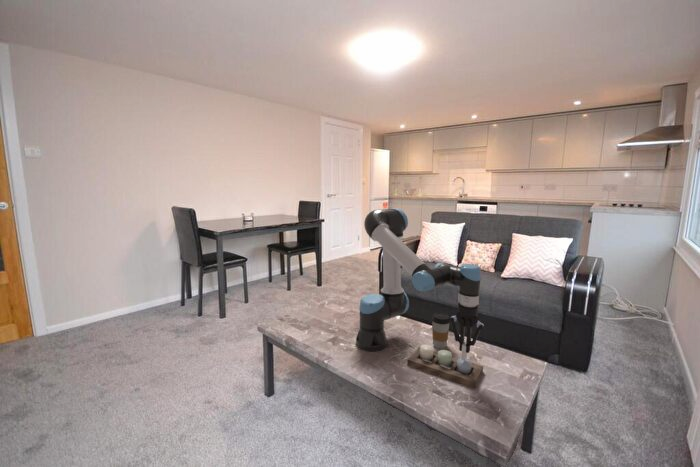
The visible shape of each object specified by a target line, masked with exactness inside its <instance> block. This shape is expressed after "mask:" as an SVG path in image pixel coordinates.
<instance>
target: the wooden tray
mask: <svg viewBox="0 0 700 467" xmlns="http://www.w3.org/2000/svg"><path fill="white" fill-rule="evenodd" d="M438 352H439V351H435V350H433V358H432V359H430V361H431V362H429V361H428V360H425V359H422V358H421V357H420V346H418V347H417V348H416V349H415V350H414V352H413V353H412V354H410V356H409V357H408V359H407V360H406V361H407V366H410V367H413V368H415V369H418V370H421V371H425V372H426V373H430V374H433V375H436V376H439V377H442V378H444V379H446V380H449V381H453V382H456V383H458V384H460V385H464V386H467V387H469V388H472V389H476V387H477V384H478V383H479V380H480V378H481V376H482V374H483V370H484V365H480V364H476V363H473V362H472V365H471V373H470V374H468V375H466V374H463V373H460V372H458V371H457V360H458V359H459V358H457V357H454V356H452V362H451V365H449V366H450V368H448V367H446V366H443V365H440V364H439V363H438Z"/></svg>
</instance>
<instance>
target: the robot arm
mask: <svg viewBox="0 0 700 467" xmlns="http://www.w3.org/2000/svg"><path fill="white" fill-rule="evenodd" d="M408 224H409V220H408V216H407V214H406V213H405V212H404V211H403V210H402V209H400V208H393V207H391V208H383V209H374V210H371V211H369V213H368V214H366V217H365V218H364V224H363V225H364V229H365V232H366V234H367V236H368V237H369V238H370V239H371V240H372V241H373V242H377V243H378V244H379V245H380V246H381V247H382V266H383V267H382V272H383V278H382V279H383V287H382V288H381V289H380V294H379V293H370V294H366V295H364V296H363V297H362V298H361V299H360V302H359V306H358V308H359V329H358V331H357V334H356V338H355V345H356V346H357V348H359V349H361V350H363V351H367V352H377V351H381V350H384V349H386V347H387V346H388V337H387V335H386V332H385V329H384V328H385V321H387V320H391V319H393V318H395V317H400V316H401V315H402V314H405V313H406V312H407V311H408V310H409V306H410V300H409V297H408V295H407V293H406V292H405V290H404V288H403V287H402V281H401V280H402V276H401V272H402V270H401V267H402V268H403V270H405V271H406V272H407V273H408V274H409V275H410V277H411V282H412V284H413V288H415V289H416V290H417V291H419V292H427V291H430V290H433V289H436V288H439V287H442V286H445V285H452V286H454V287H458V298H457V300H458V301H457V302H458V303H457V312H456V314H455V315H452V316H451V317H449V318H450V323H451V325H452V331H453V335H454V336H453V337H454V341H455V342H457V343H459V349H458V350H459V352H461V354H460V355H461V356H460V358H461V360H464V361H465V360H466V359H468V358H467V357H468V354H469V353H470V351H471V346H472V347H473V346H475V345H476V342H477V340H478V337H479V335H480V333H481V330H482V329H483V328H484V326H485V324H484V323H483V322H481V321H480V319H479V317H478V316H479V315H478V314H479V313H478V312H479V302H480V288H481V287H480V286H481V280H482V274H481V273H482V271H481V266H479V265H477V264H471V263H464V264H461V266H460V267H458V266H455V265H452V264H448V263H443V262H442V263H441V262H437V263H435V265H433V268H431V267H429V266H428V265H427V264H426V263H425V262H424V261H423V260H422V259H421V258H420V257H419V256H418V255H417V254H416V253H415V252H413V250H412V249H410V248H409V247H408V246H407V245H406V244H405V242H403V241H402V238H403V237H404V231H406V229H407V228H408ZM458 322H459V324H460V325H459V326H460V329H459V326H458ZM475 325H476V329H475V332H474V335H473V337H472V333H473V332H472V330H473V328H474V326H475ZM459 330H460V331H459ZM465 336H466V341H465Z"/></svg>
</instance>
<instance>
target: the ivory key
mask: <svg viewBox="0 0 700 467" xmlns="http://www.w3.org/2000/svg"><path fill="white" fill-rule="evenodd" d="M419 347H420V357H421V358H420V359H421V360H424V361H428V360H429V361H431V359H432V358H433V351H434V347H433V346H432V345H430V344H421V345H420V346H419Z"/></svg>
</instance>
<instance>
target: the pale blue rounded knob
mask: <svg viewBox="0 0 700 467" xmlns="http://www.w3.org/2000/svg"><path fill="white" fill-rule="evenodd" d="M472 363H473V362H472V360H471V359H468V358H466V360H465V361H464V360H461V357H459V358H458V360H457V370H456V371H457V372H460V373H463V374H466V375H471V365H472Z"/></svg>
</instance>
